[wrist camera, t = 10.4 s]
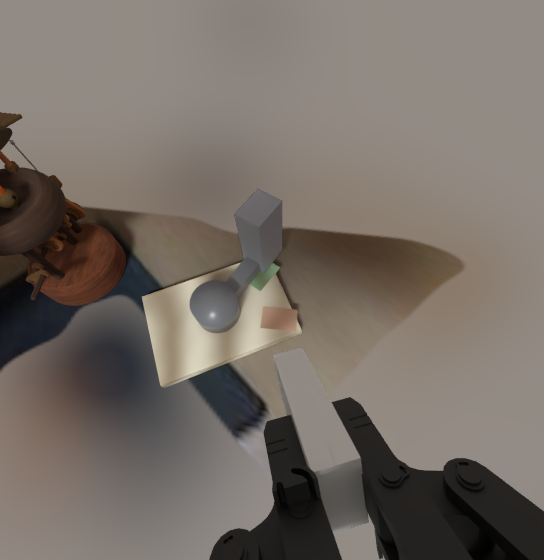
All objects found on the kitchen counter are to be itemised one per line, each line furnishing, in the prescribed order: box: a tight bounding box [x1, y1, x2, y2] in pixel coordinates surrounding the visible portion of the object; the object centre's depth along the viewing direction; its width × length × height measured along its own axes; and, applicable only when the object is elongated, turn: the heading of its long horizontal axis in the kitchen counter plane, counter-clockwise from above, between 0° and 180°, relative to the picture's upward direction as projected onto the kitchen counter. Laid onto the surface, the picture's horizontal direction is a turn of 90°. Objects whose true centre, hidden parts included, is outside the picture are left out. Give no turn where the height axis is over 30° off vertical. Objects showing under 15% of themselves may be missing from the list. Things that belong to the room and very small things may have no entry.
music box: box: [0, 112, 126, 306], centre depth 32 cm, size 15×11×20 cm
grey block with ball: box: [189, 189, 282, 333], centre depth 33 cm, size 14×5×9 cm, turn 146°
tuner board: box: [142, 260, 302, 387], centre depth 36 cm, size 17×12×1 cm
